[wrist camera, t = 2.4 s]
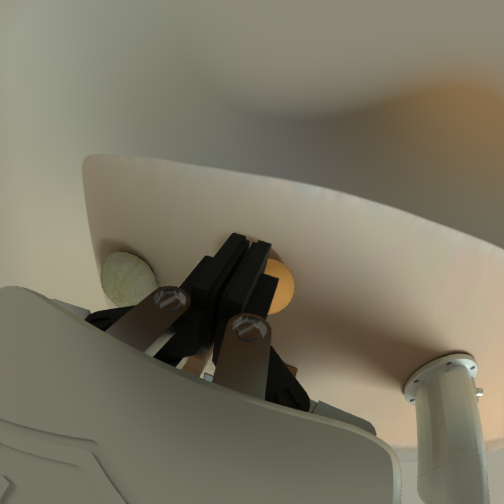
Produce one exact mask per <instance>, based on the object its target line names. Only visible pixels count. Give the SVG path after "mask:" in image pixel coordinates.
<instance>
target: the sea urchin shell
mask: <svg viewBox="0 0 504 504" xmlns="http://www.w3.org/2000/svg"><path fill="white" fill-rule="evenodd" d="M101 268H102V269H101V283H102V288H103V290H104V292H105V293H106V294H107V296H108V298H110V300H111V301H112V302H113V303H114V304H116V305H117V306H118V307H119V308H120V307H126V306H132V305H137V304H138V303H140V302H141V301H142V300H143V299H144V298H146V297H147V296H148V295H149V294H150V293H152V292H153V291H154V290H156V289H158V285H157V282H156V279H155V275H154V274H153V272H152V270H151V269H150V267H149V265H148V264H147V263H146V262H145V261H143V260H141V259H140V258H138V257H137V256H135V255H132V254H129V253H127V252H114V253H111V254H110V255H109V256H107V258H106V259H105V261H104V263H103V264H102V267H101Z"/></svg>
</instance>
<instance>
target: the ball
mask: <svg viewBox="0 0 504 504" xmlns="http://www.w3.org/2000/svg"><path fill="white" fill-rule="evenodd" d="M264 274H267V275H270V276H274V277H277V278H279V282H278V285H277V288H276V291H275V295H274V298H273V301H272V304H271V307H270V310H269V313H268V314H274V313H277V312H279V311H281V310H282V309H284V308H285V307H286V306H287V305H288V304H289V302H290V301H291V299H292V297H293V294H294V289H295V284H294V279H293V276H292V274H291V272H290V270H289V269H288V268H287V267H286V266H285V265H284V264H283V263H281V262H279V261H277V260H274V259H269V258H268V261H267V265H266V268H265V272H264Z"/></svg>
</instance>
